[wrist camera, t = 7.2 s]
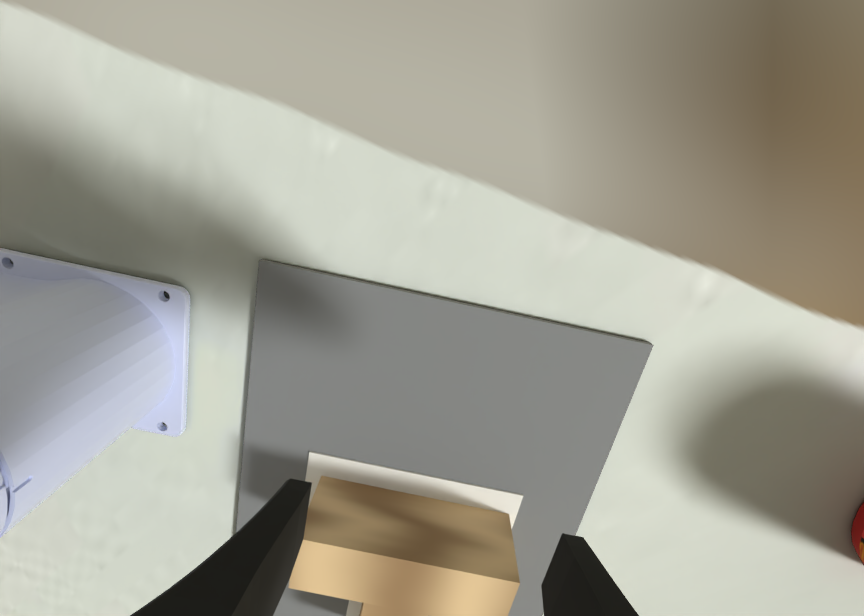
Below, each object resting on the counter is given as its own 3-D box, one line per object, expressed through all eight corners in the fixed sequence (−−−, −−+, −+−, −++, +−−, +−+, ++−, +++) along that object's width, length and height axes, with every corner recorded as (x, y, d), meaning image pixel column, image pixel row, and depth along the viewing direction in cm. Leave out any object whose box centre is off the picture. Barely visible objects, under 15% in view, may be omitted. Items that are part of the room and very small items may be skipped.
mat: (231, 606, 27) (228, 613, 27) (261, 258, 20) (258, 260, 19) (520, 662, 27) (520, 669, 27) (650, 342, 20) (654, 346, 20)
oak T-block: (299, 610, 26) (273, 687, 22) (321, 475, 23) (295, 538, 19) (464, 643, 27) (466, 724, 23) (508, 514, 23) (520, 583, 20)
